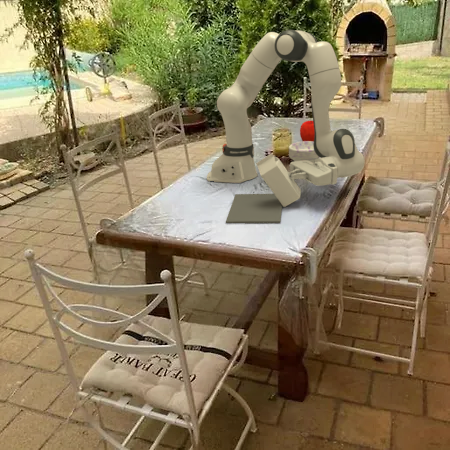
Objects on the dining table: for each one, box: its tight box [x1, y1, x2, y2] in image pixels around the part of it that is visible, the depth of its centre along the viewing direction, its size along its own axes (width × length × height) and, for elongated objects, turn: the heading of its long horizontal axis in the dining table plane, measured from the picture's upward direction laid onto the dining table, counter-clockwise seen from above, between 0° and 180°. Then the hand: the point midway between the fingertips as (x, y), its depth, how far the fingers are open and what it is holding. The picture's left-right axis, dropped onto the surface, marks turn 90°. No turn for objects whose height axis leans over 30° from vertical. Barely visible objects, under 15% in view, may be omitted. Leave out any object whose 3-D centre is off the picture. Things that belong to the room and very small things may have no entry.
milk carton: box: [255, 153, 302, 208], centre depth 176 cm, size 7×7×19 cm
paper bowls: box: [288, 141, 320, 163], centre depth 222 cm, size 15×15×8 cm
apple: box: [299, 120, 315, 142], centre depth 243 cm, size 12×12×13 cm
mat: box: [225, 193, 283, 224], centre depth 178 cm, size 19×26×1 cm
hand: (290, 175), depth 174 cm, fingers closed
